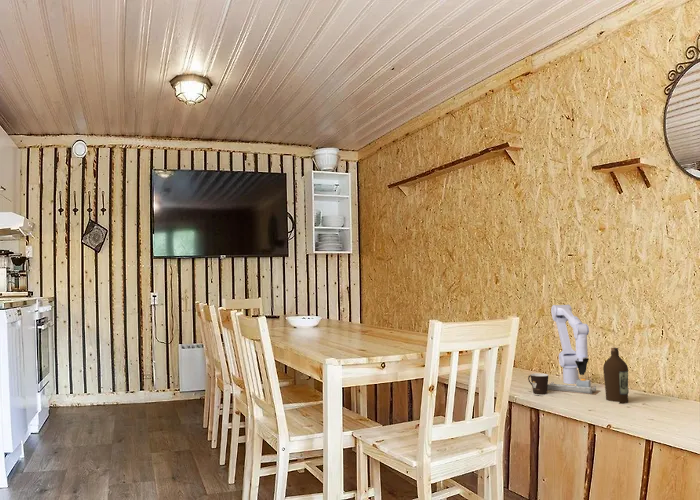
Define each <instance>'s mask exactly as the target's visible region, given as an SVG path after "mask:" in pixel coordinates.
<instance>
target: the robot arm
mask: <svg viewBox="0 0 700 500" xmlns="http://www.w3.org/2000/svg"><path fill="white" fill-rule="evenodd" d="M572 309H573V308H572V306H571V304H553V305H552V306H551V310H550V312H551V319H552V321H554V322H555V324H556V328H557V333H558V338H559V341H560V345H561V349H562V351H560V352H559V353H558V364H559V365H560V367H561V368H562V379H563V381H562V382H563V384H565V385H577V383H576V380H578V379H580V378H579V376H584V375H585V373H586V372H587V366H588V362H589V354H588V353H589V352H588V350H589V349H588V335H589V333H590V328H589V325H588V324H587V323H583V322H582V321H581V320H580V318H579V317H578V316H576V315H574V314H573V310H572ZM567 322H568V324H569V326H570V327H571V328H572V333H573V338H574V339H575V341H574V342H575V350H574V349H573V348H572V344H571V339H570V336H569V332H568V327H567Z"/></svg>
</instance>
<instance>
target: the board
mask: <svg viewBox="0 0 700 500" xmlns="http://www.w3.org/2000/svg"><path fill="white" fill-rule="evenodd" d="M549 391H551V392H552V391H553V392H556V391H555V390H549ZM559 392H560V393H561V392H562V393H566V392H565V391H559ZM600 392H601V390H596V391H595V392H594V393H593V394H589V395H591V396H596V395H597V394H599V393H600ZM569 393H570V394H576V393H575V392H569ZM579 394H583V395H586V394H585V393H579Z"/></svg>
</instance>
